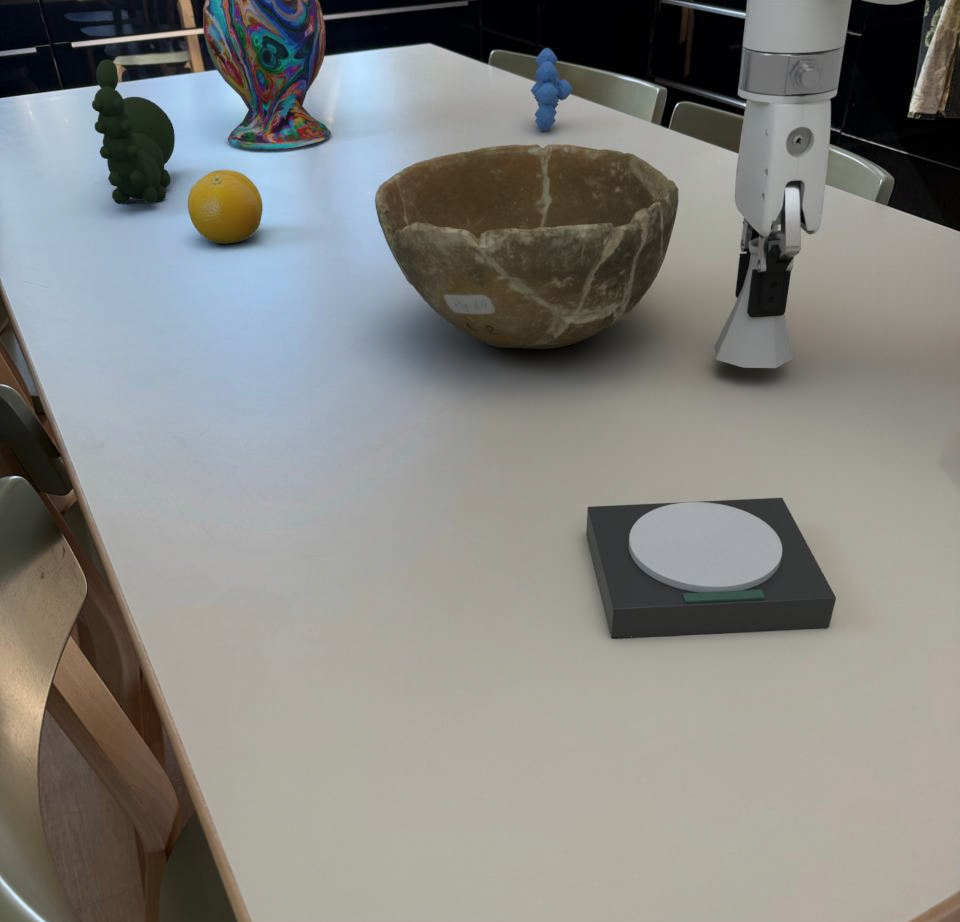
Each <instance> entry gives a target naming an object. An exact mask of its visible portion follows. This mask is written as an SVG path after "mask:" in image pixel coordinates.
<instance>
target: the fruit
mask: <svg viewBox="0 0 960 922" xmlns="http://www.w3.org/2000/svg"><path fill="white" fill-rule="evenodd" d="M187 209H188V215H189V218H190V221H191V223H192V225H193V226H194V228H195V230H196V231H197V232H198V233H199V234H200V236H203V237H204V238H205V239H207V240H209V241H211V242H214V243H218V244H236V243H239V242H242V241H244V240H247V239H248V238H250V237H252V236H253V235H254V234H255V233H256V231H257V230H258V229H259V228H260V225H261V220H262V216H263V200H262V196H261V193H260V191H259V189H258V187H257V186H256V185H255V183H254V182H253V181H252V180H251V179H250V178H249V177H247V175H245V174H243V173H241V172H239V171H235V170H230V169H219V170H214V171H211V172H208V173H207V174H205V175H204V176H202V177H201V178H200V179H198V180H197V181H196V182H195V183H194V184H193V186H192V187H191V188H190V191H189V193H188V197H187Z"/></svg>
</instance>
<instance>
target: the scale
mask: <svg viewBox="0 0 960 922" xmlns="http://www.w3.org/2000/svg"><path fill="white" fill-rule="evenodd" d="M586 513H587V514H586V531H585V534H586V539H587V544H588V548H589V553H590V556H591V560H592V565H593V569H594V573H595V576H596V581H597V585H598V589H599V594H600V598H601V601H602V605H603V610H604V615H605V618H606V622H608V623H607V626H608V630H609V635H610V634H611V635H610V638H611V637H618V638H617V639H621V638H620V637H629V638H645V637H644V636H649V637H666V636H667V635H669V636H686V635H706V634H707V635H708V634H725V633H726V634H727V632H728V633H745V632H746V633H747V632H748V633H749V632H767V631H786V630H787V631H788V630H801V629H802V630H803V629H805V630H808V629H825V628H830V624H831V620H832V617H833V612H834V608H835V604H836V601H837V597H836V595H835V592H833V589H832V587H831V585H830V584H829V582H828V580H827V579H826V576H825V575H824V573H823V570H822V569H821V567H820V565H819V563H818V561H817V559H816V558H815V556H814V554H813V552H812V550H811V548H810V546H809V545H808V543H807V541H806V539H805V537H804V535H803V534H802V531H801V530H800V528H799V526H798V524H797V522H796V521H795V519H794V516H793V515H792V513H791V511H790V510H789V507H788V505H787V503H786V502H785V500H784V498H783V497H767V498H766V497H764V498H745V499H727V500H726V499H725V500H724V499H723V500H702V501H683V502H682V501H680V502H660V503H659V502H658V503H638V504H637V503H636V504H615V505H598V506H597V505H596V506H588V507H587V512H586ZM703 633H704V634H703ZM683 634H685V635H683ZM662 635H664V636H662ZM631 636H632V637H631ZM639 636H640V637H639Z"/></svg>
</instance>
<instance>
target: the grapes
mask: <svg viewBox="0 0 960 922" xmlns="http://www.w3.org/2000/svg"><path fill="white" fill-rule="evenodd" d="M557 60H558V57H557V56H556V54H555V53H554V51H553V50H552V49H550V48H549V47H545V48H543V49H542V50H541V51H540V53H539V54H538V55H537V57H536V58H535V61H534V62H535V64H536V65H537V67H538V68H537V70H536V71H535V73H536V74H535V75H534V79H536V82H535V83H534V84H533V86H532V87H531V89H530V93H532V95H533V96H534V99H535V101H536V103H537V106H538V108H537V110H536V112H535V114H534V116H535V118H536V119H535V120H534V122H535V124H536V125H537V126H538V128H539V129H540V130H542V131H543V132H547V131H549V130H550V129H551V128H552V127H553V125H554V124H555V123H556V121H557V119H555V117H556V114H557V113H558V112H557V110H556V109H557V107H558V106H559V102H560V101H564V100H567V99H568V97H569V96H570V95H571V93H572V92H573V90H574V89H573V87H572V85H571V83H570V82H569V81H568V80H567V79H565V78H561V79H559V77H560V74H559V71H558V69H557V68H556V66H555V64H556V62H557Z"/></svg>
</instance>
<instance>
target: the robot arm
mask: <svg viewBox="0 0 960 922" xmlns="http://www.w3.org/2000/svg"><path fill="white" fill-rule="evenodd" d="M862 1H864V2H869V3H872V4H873V3H874V4H879V5H902V4H907V3H911V2H913V1H915V0H862ZM851 6H852V0H746V9H745V17H744V27H743V28H744V29H743V39H742V48H741V56H740V65H739V66H740V67H739V77H738V88H737V96H739V98H742V99H744V100H746V103H745V109H744V112H743V121H742V127H741V134H740V141H739V146H738V147H739V148H738V153H737V154H738V155H737V163H736V173H735V184H734V203H735V207H736V209H737V211H738V212H739V213H740V215H742V217H743V220H742V231H741V237H740V238H741V239H740V245H739V246H740V252H741V253H739V258H738V265H737V275H736V285H735V292H734V293H735V295H734V296H735V298H736V299H737V298H738V296H739V294H740V292H741V290H742V288H743V285H744V282H745V278H746V275H747V271H748V268H749V263H750V256H751V253H750V251H749V245H748V243H749V241H751V240H753V239H755V238H759V245H758V257H757V269H752V276H751V284H750V292H749V300H748V309H747V313H748V315H749V316H750V317H752V318H753V317H769V316H782V315H783V314H784V313H786V309H787V303H788V295H789V289H790V282H791V276H792V275H791V274H792V271H793V268H794V261H795V256H797V255H798V254H799V253H800V252H801V248H802V233H801V229H802V230H803V231H804V232H805V233H806V234H807V235H814V234H816V233H817V232H818V231H819V229H820V228H821V224H822V222H821V221H822V217H823V209H824V200H825V191H826V183H827V172H828V165H829V154H830V141H831V123H832V122H831V121H832V101H831V99H833V98H836V96H837V94H838V88H839V82H840V76H841V69H842V63H843V57H844V51H845V45H846V38H847V33H848V26H849V25H848V24H849V19H850V12H851ZM779 225H780V230H779ZM776 240H780V241H779V242H778V244H777V245H772V247H771V248H770V250H769V252H768V249H769V241H776Z"/></svg>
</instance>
